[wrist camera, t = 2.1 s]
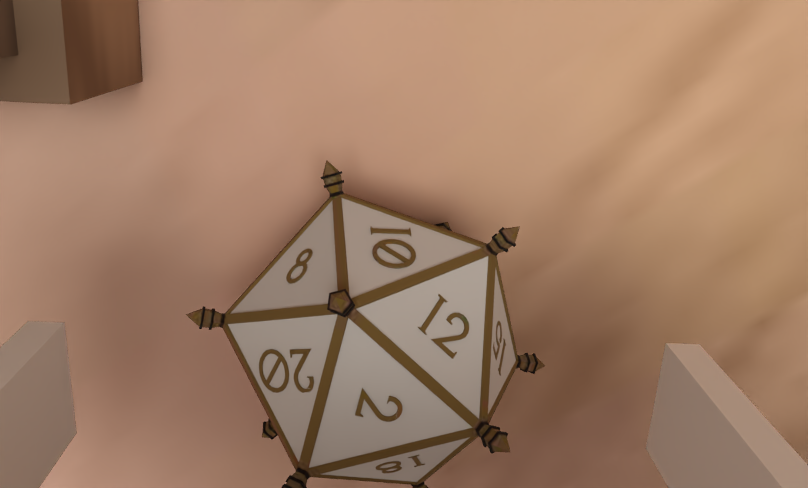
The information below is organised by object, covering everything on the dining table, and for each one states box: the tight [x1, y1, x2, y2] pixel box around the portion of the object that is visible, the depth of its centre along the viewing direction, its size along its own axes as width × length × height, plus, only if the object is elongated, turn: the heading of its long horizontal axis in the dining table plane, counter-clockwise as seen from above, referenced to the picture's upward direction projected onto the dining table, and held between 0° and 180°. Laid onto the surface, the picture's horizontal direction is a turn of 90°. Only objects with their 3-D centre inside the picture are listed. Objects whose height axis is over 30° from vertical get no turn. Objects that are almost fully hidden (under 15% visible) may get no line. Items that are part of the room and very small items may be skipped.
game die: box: [186, 161, 545, 488], centre depth 19 cm, size 9×8×10 cm
